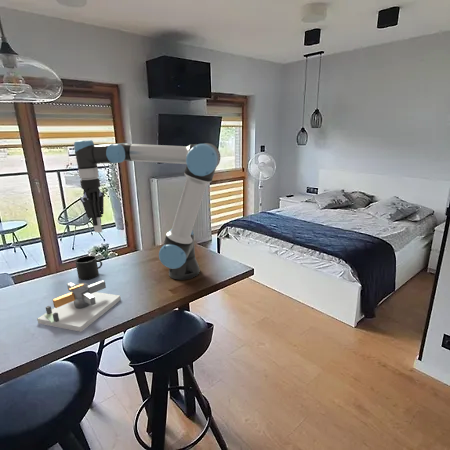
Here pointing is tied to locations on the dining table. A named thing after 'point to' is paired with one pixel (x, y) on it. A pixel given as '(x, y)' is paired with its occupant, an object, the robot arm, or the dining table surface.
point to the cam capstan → (79, 294)
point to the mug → (87, 267)
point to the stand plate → (78, 313)
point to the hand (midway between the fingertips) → (98, 231)
